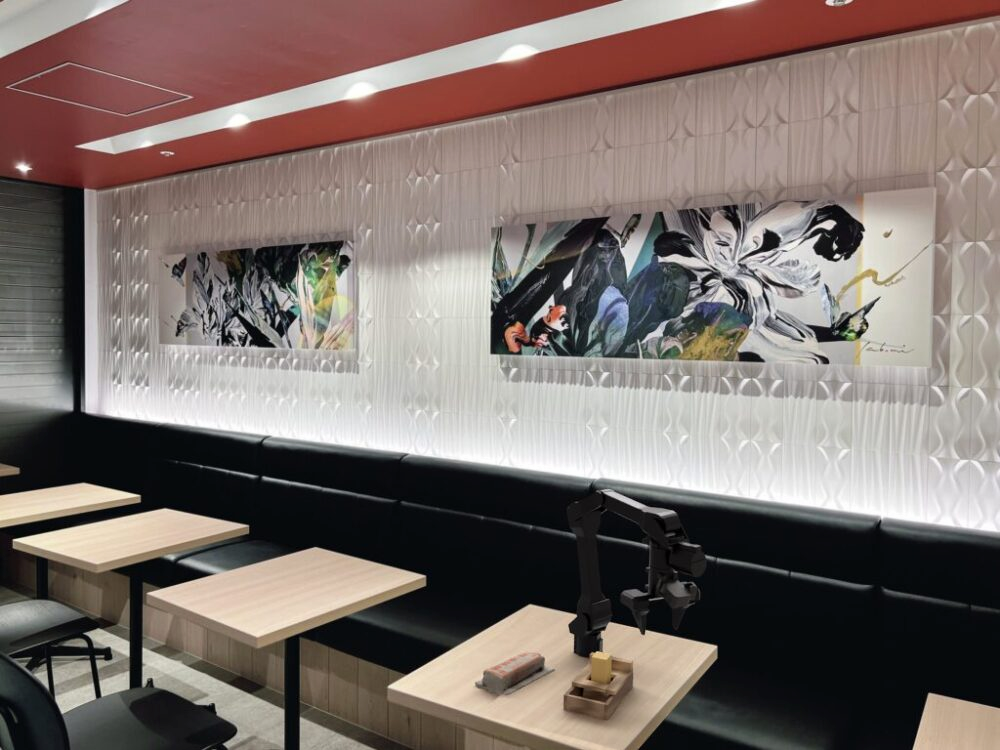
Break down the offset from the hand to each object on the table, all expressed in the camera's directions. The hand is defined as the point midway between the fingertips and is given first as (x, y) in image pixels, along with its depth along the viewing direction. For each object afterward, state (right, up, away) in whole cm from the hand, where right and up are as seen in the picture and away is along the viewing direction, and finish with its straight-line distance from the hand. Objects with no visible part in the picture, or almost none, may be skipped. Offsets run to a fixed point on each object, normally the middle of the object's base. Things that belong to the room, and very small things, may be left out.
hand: (659, 631), depth 183 cm
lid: (-14, -9, -5) cm, 17 cm away
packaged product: (-33, -13, +4) cm, 36 cm away
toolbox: (-15, -13, -7) cm, 21 cm away
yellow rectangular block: (-14, -13, -6) cm, 20 cm away
